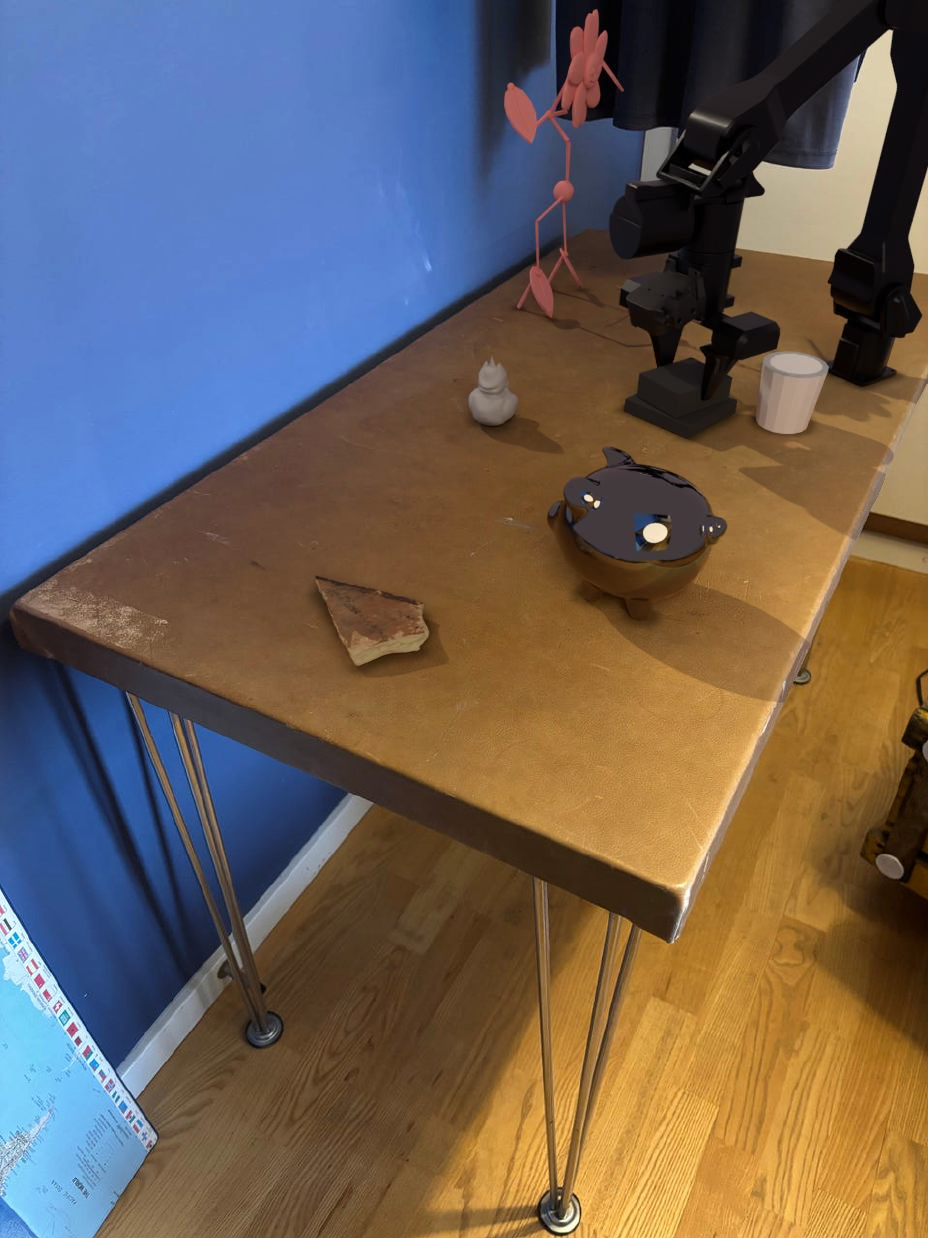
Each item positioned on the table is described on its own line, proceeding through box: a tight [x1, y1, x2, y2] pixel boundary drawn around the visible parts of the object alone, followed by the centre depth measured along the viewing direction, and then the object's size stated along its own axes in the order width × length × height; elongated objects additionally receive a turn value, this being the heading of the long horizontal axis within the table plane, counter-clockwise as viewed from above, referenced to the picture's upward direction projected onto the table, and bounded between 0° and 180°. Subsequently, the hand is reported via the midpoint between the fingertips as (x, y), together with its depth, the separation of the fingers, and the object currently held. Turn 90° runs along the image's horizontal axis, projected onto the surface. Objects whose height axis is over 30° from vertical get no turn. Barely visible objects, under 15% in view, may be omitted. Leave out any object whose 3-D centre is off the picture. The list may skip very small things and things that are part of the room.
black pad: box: [635, 356, 733, 418], centre depth 102 cm, size 8×6×3 cm
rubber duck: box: [468, 355, 519, 427], centre depth 100 cm, size 5×7×8 cm
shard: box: [314, 575, 430, 667], centre depth 75 cm, size 11×8×2 cm
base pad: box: [623, 392, 739, 440], centre depth 104 cm, size 9×9×2 cm
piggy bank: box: [546, 446, 728, 621], centre depth 75 cm, size 11×15×12 cm
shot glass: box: [755, 350, 829, 435], centre depth 100 cm, size 7×7×7 cm
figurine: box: [493, 9, 629, 324], centre depth 118 cm, size 15×26×35 cm, turn 151°
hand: (683, 387), depth 102 cm, fingers closed on black pad, 6 cm apart
